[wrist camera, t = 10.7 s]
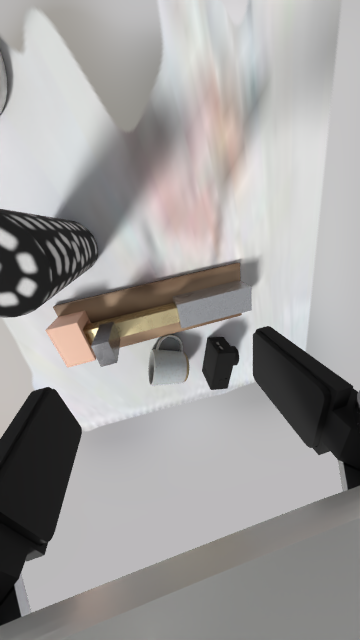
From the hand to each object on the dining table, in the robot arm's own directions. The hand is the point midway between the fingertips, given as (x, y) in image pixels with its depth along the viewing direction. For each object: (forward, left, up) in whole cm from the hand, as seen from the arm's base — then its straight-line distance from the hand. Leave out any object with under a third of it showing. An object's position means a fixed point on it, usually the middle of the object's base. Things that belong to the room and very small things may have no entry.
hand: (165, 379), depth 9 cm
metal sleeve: (+9, +11, -29) cm, 33 cm away
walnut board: (+9, +1, -30) cm, 32 cm away
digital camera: (+25, +12, -31) cm, 41 cm away
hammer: (+9, -5, -28) cm, 30 cm away
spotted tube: (-6, -11, -31) cm, 33 cm away
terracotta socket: (+9, -15, -29) cm, 34 cm away
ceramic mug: (+20, 0, -31) cm, 37 cm away
